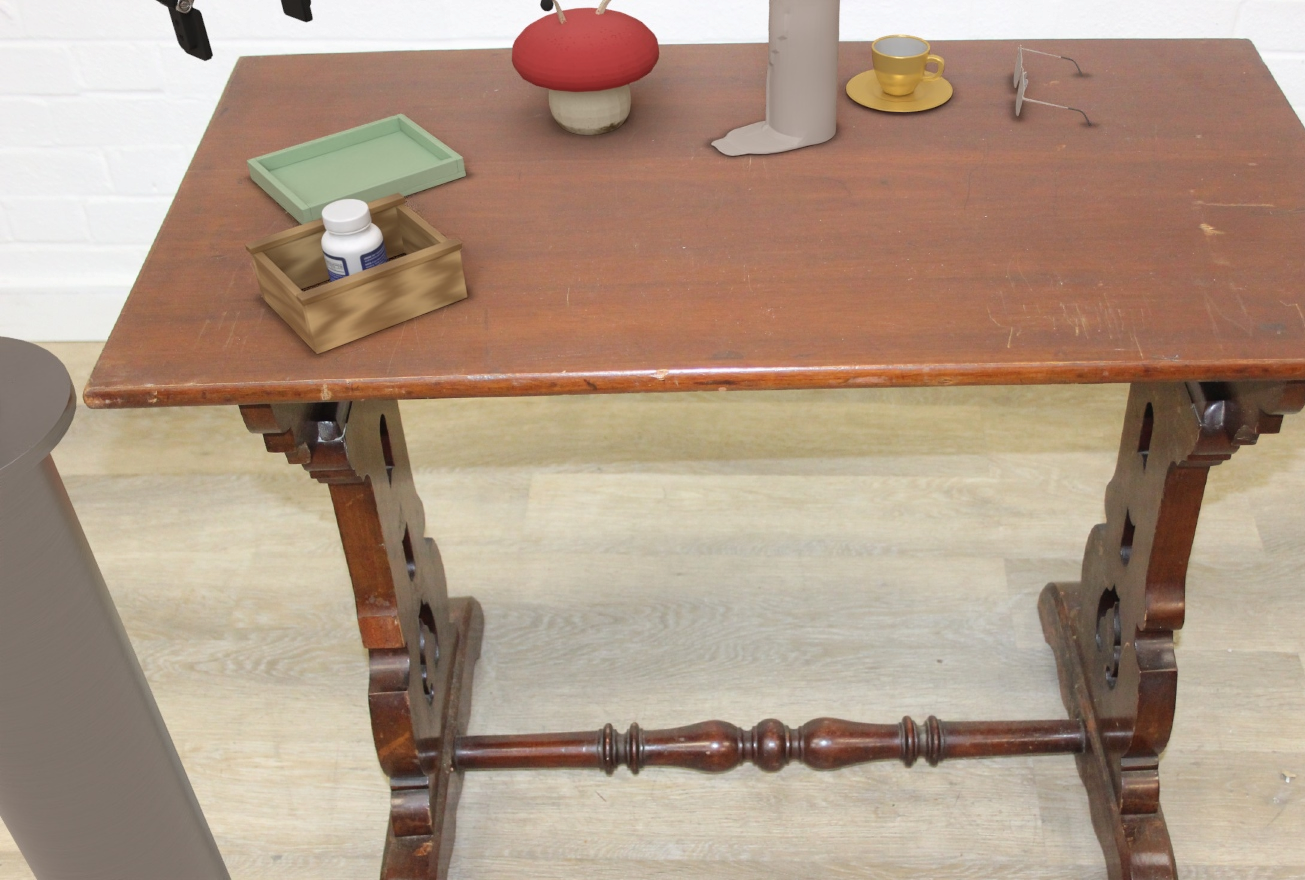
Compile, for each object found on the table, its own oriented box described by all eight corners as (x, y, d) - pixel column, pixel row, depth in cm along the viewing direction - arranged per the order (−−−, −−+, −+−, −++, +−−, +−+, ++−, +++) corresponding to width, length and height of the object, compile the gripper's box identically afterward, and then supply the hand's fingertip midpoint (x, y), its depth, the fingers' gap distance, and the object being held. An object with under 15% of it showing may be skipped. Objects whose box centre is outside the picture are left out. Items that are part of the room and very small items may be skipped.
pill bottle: (392, 279, 129) (375, 191, 123) (396, 308, 125) (378, 219, 119) (333, 287, 128) (313, 199, 122) (336, 317, 124) (314, 228, 118)
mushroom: (560, 166, 145) (544, 24, 136) (495, 112, 156) (477, -24, 146) (690, 128, 152) (684, -10, 142) (620, 79, 162) (610, -53, 152)
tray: (306, 229, 136) (301, 209, 135) (251, 178, 144) (246, 159, 143) (466, 175, 144) (463, 157, 143) (405, 130, 152) (401, 112, 151)
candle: (702, 137, 150) (695, -53, 137) (816, 111, 155) (820, -75, 142) (731, 164, 145) (727, -31, 132) (847, 137, 150) (855, -54, 137)
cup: (833, 107, 155) (835, 60, 152) (861, 65, 164) (863, 20, 161) (939, 121, 153) (943, 73, 149) (962, 77, 161) (966, 31, 158)
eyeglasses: (1012, 71, 162) (1019, 38, 160) (1081, 79, 162) (1089, 46, 159) (1016, 124, 152) (1023, 89, 149) (1090, 132, 151) (1098, 97, 149)
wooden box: (315, 356, 119) (301, 300, 115) (259, 298, 126) (244, 243, 123) (471, 297, 126) (462, 242, 122) (409, 245, 133) (398, 192, 130)
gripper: (259, -223, 110) (308, -6, 121) (57, -172, 100) (130, 59, 111) (318, -209, 106) (363, 14, 117) (114, -154, 96) (184, 83, 107)
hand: (250, 36), depth 114 cm, fingers open, 9 cm apart
